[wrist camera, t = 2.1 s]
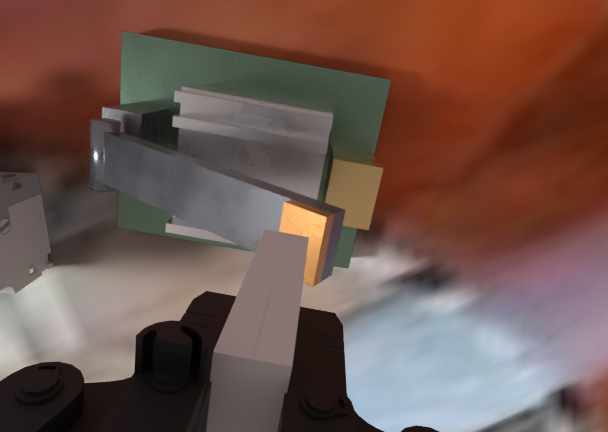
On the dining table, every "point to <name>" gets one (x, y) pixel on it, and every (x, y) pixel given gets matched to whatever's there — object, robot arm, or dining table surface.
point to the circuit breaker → (22, 231)
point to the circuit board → (253, 127)
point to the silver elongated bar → (212, 195)
